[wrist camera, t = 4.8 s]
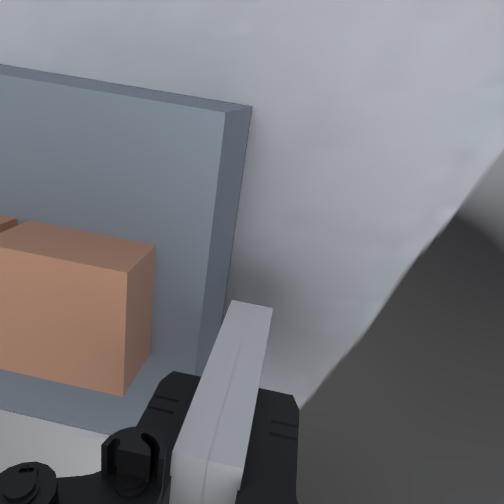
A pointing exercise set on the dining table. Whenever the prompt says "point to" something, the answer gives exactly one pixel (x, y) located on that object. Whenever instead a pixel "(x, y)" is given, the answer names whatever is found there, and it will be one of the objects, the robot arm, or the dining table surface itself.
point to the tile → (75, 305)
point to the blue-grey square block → (126, 214)
